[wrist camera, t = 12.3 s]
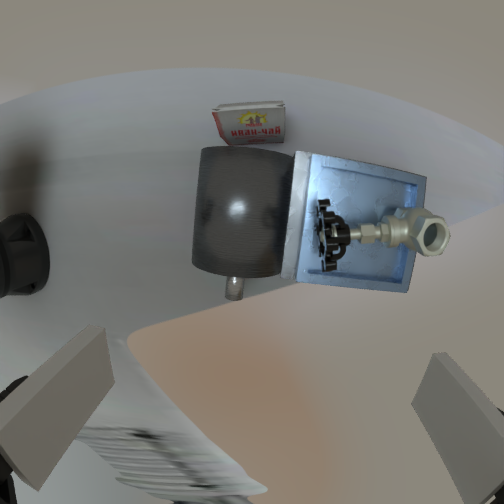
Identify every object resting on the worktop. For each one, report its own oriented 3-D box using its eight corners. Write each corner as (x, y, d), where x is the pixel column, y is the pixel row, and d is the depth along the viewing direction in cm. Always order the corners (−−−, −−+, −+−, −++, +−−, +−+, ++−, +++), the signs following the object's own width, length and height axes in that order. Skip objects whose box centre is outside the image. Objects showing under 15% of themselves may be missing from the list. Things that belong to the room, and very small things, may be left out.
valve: (420, 191, 25) (313, 196, 27) (453, 198, 19) (324, 203, 20) (419, 251, 27) (317, 260, 29) (449, 271, 21) (327, 285, 22)
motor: (202, 278, 37) (178, 307, 28) (213, 149, 34) (191, 133, 24) (388, 299, 36) (418, 331, 26) (408, 178, 32) (449, 175, 23)
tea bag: (228, 118, 33) (211, 92, 23) (281, 115, 32) (283, 87, 23) (229, 145, 34) (212, 128, 24) (283, 142, 33) (286, 123, 23)
